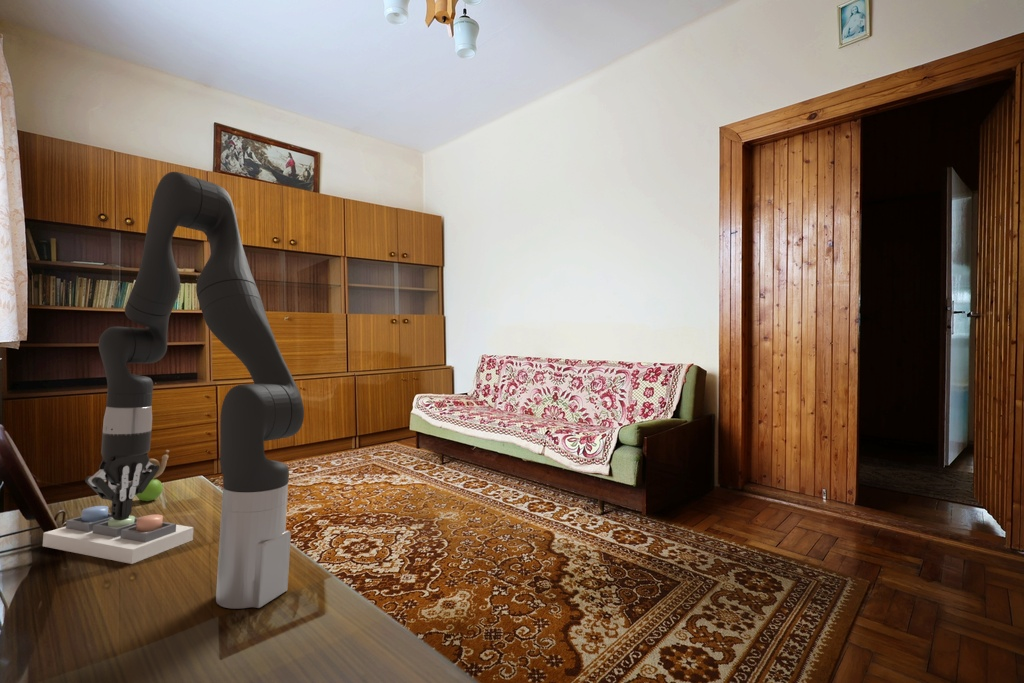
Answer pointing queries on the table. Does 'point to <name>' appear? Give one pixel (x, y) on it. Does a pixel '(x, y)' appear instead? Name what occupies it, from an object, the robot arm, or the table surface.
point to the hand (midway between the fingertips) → (121, 518)
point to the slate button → (94, 514)
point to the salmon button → (149, 523)
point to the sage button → (121, 522)
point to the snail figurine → (154, 481)
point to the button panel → (116, 539)
